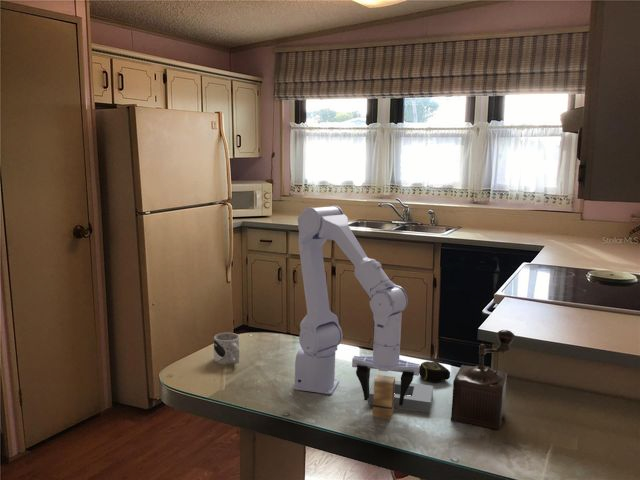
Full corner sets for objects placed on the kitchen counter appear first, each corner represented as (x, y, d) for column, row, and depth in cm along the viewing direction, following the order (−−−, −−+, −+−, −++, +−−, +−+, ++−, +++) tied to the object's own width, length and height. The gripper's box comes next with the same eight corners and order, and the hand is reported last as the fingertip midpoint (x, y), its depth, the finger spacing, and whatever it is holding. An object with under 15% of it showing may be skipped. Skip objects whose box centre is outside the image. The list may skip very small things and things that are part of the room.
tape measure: (450, 383, 139) (452, 369, 139) (426, 385, 137) (427, 371, 136) (437, 372, 146) (438, 359, 145) (414, 375, 143) (414, 361, 143)
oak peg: (372, 416, 120) (374, 381, 119) (375, 408, 124) (377, 374, 123) (391, 419, 119) (393, 384, 118) (393, 410, 123) (395, 377, 122)
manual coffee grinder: (502, 432, 115) (510, 350, 112) (449, 420, 119) (455, 341, 116) (509, 402, 129) (516, 329, 126) (461, 392, 133) (467, 321, 130)
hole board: (368, 403, 126) (368, 393, 126) (374, 387, 135) (374, 378, 134) (430, 412, 123) (430, 402, 122) (432, 395, 131) (433, 385, 131)
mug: (209, 358, 150) (209, 335, 149) (231, 353, 154) (231, 331, 153) (226, 371, 142) (226, 346, 141) (249, 365, 146) (249, 341, 145)
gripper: (350, 344, 117) (347, 404, 119) (419, 352, 113) (415, 414, 116) (356, 333, 124) (354, 390, 126) (421, 341, 120) (418, 399, 122)
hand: (383, 401), depth 121 cm, fingers open, 7 cm apart
